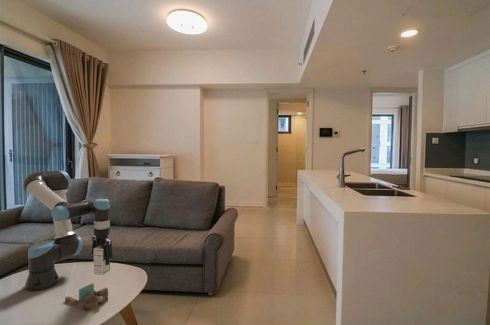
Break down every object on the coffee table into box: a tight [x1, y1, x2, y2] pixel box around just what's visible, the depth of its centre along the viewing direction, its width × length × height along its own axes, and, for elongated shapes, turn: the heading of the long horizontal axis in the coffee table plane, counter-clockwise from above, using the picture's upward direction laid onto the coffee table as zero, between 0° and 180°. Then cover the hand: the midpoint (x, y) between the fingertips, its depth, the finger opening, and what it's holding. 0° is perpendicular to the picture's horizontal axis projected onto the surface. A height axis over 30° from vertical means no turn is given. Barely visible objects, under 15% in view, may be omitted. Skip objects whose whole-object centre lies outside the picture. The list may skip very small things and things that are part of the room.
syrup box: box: [93, 246, 111, 276], centre depth 147 cm, size 6×6×14 cm
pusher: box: [78, 282, 103, 303], centre depth 134 cm, size 13×7×7 cm, turn 62°
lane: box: [64, 287, 109, 312], centre depth 137 cm, size 18×11×6 cm, turn 62°
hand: (102, 268), depth 148 cm, fingers closed on syrup box, 7 cm apart
